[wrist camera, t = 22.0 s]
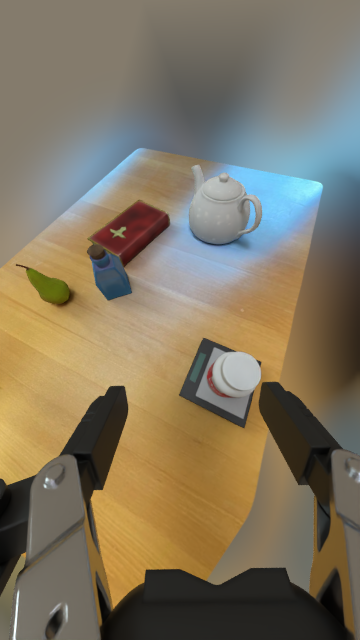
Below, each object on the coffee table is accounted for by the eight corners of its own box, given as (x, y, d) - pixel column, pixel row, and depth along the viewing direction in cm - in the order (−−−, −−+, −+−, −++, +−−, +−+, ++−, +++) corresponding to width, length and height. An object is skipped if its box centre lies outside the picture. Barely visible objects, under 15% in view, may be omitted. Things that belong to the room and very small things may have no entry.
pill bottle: (199, 382, 30) (206, 375, 20) (217, 355, 32) (232, 336, 22) (229, 405, 29) (253, 410, 19) (246, 375, 31) (276, 365, 21)
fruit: (80, 296, 42) (44, 261, 32) (59, 313, 40) (13, 282, 30) (65, 283, 44) (27, 246, 33) (45, 299, 42) (-4, 265, 31)
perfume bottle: (103, 281, 44) (77, 243, 33) (126, 274, 45) (108, 235, 34) (107, 300, 42) (80, 265, 31) (131, 292, 43) (114, 256, 32)
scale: (256, 364, 34) (262, 361, 32) (240, 426, 30) (245, 429, 27) (202, 341, 37) (203, 336, 34) (179, 395, 32) (178, 395, 30)
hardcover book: (170, 225, 53) (168, 212, 49) (123, 268, 46) (118, 256, 42) (141, 212, 56) (138, 198, 52) (94, 249, 49) (86, 237, 45)
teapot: (182, 246, 49) (182, 195, 37) (190, 207, 56) (192, 154, 44) (248, 252, 47) (270, 201, 35) (246, 211, 55) (265, 157, 43)
